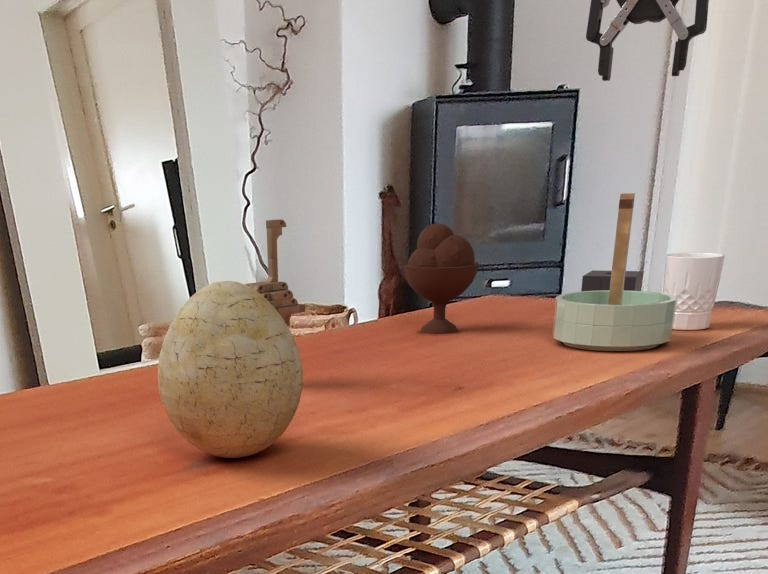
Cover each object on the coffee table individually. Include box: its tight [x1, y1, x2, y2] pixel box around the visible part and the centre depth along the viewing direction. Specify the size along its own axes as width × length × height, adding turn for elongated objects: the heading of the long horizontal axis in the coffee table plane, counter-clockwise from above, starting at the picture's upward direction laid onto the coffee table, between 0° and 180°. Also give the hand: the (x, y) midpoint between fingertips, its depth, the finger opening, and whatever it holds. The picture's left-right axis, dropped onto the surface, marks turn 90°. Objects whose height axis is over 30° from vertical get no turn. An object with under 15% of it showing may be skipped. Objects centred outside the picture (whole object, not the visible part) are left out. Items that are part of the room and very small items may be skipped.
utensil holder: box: [580, 270, 644, 291], centre depth 158 cm, size 8×8×6 cm
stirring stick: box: [608, 192, 636, 305], centre depth 129 cm, size 2×2×18 cm
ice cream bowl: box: [403, 222, 480, 334], centre depth 144 cm, size 11×11×15 cm
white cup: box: [662, 251, 726, 331], centre depth 141 cm, size 8×8×10 cm
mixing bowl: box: [551, 290, 678, 352], centre depth 132 cm, size 16×16×6 cm
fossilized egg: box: [156, 280, 304, 459], centre depth 85 cm, size 13×13×15 cm
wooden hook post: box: [244, 218, 306, 327], centre depth 109 cm, size 17×7×18 cm, turn 132°
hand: (639, 78), depth 125 cm, fingers open, 8 cm apart
